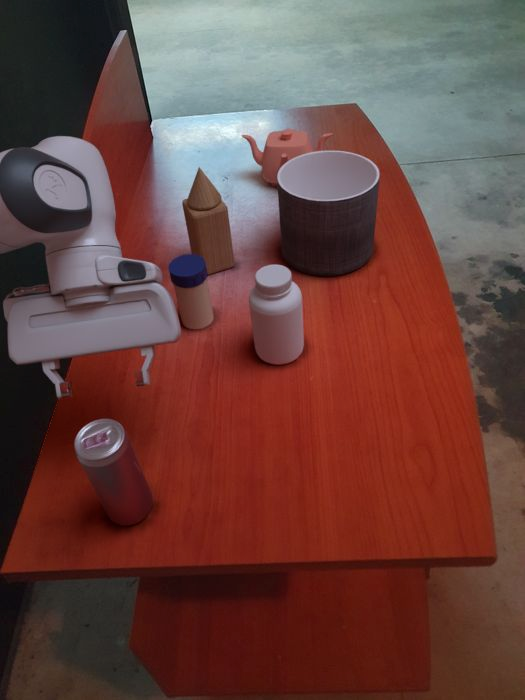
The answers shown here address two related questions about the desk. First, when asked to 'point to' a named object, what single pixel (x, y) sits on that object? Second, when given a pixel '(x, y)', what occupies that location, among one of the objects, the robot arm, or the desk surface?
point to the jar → (195, 305)
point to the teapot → (282, 150)
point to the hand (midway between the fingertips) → (104, 391)
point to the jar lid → (188, 270)
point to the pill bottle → (276, 315)
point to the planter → (328, 211)
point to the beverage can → (114, 471)
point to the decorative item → (208, 225)
